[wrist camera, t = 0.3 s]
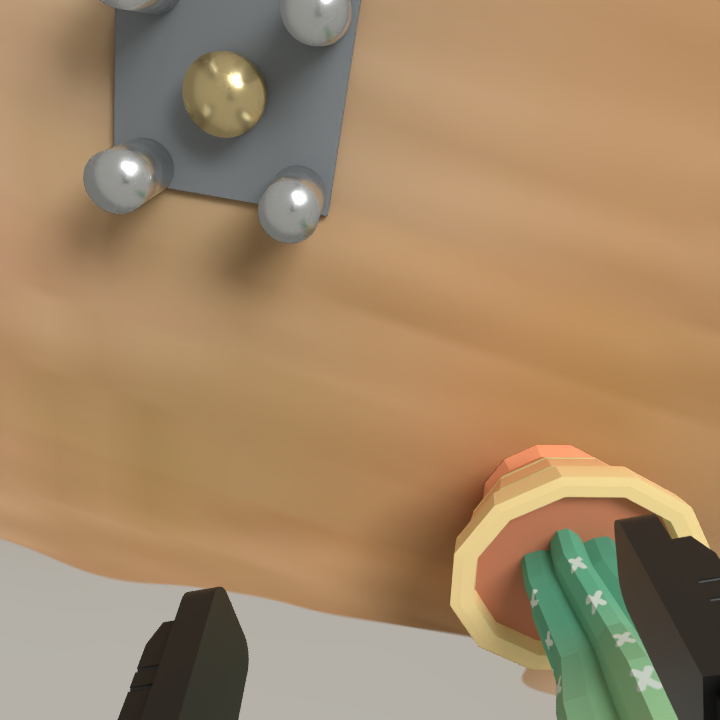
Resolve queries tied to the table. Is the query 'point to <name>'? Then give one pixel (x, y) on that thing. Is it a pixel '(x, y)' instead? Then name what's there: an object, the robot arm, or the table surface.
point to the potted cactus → (564, 578)
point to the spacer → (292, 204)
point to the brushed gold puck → (225, 93)
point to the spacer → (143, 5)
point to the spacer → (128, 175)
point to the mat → (284, 81)
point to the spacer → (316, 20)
